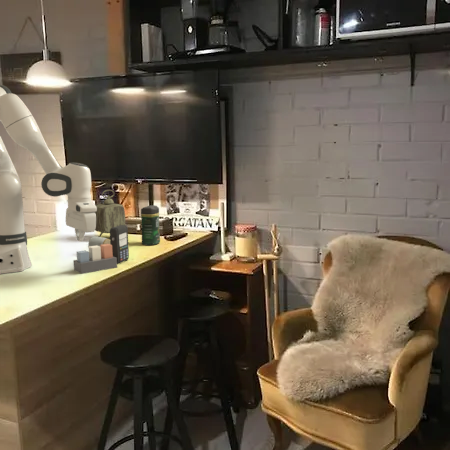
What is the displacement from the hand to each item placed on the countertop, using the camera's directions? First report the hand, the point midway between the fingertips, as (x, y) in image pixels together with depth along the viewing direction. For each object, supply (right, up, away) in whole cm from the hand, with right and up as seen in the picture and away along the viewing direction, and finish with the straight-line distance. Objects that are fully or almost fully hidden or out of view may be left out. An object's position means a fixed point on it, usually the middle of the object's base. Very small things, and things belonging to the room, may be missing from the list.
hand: (80, 240), depth 216 cm
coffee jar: (+21, -3, +51) cm, 56 cm away
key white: (+5, -8, +4) cm, 11 cm away
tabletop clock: (-1, -1, +66) cm, 66 cm away
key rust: (+9, -8, +7) cm, 14 cm away
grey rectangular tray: (+5, -11, +5) cm, 13 cm away
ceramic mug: (+1, -7, +34) cm, 34 cm away
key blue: (+1, -10, +1) cm, 10 cm away
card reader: (+13, -10, +16) cm, 22 cm away
